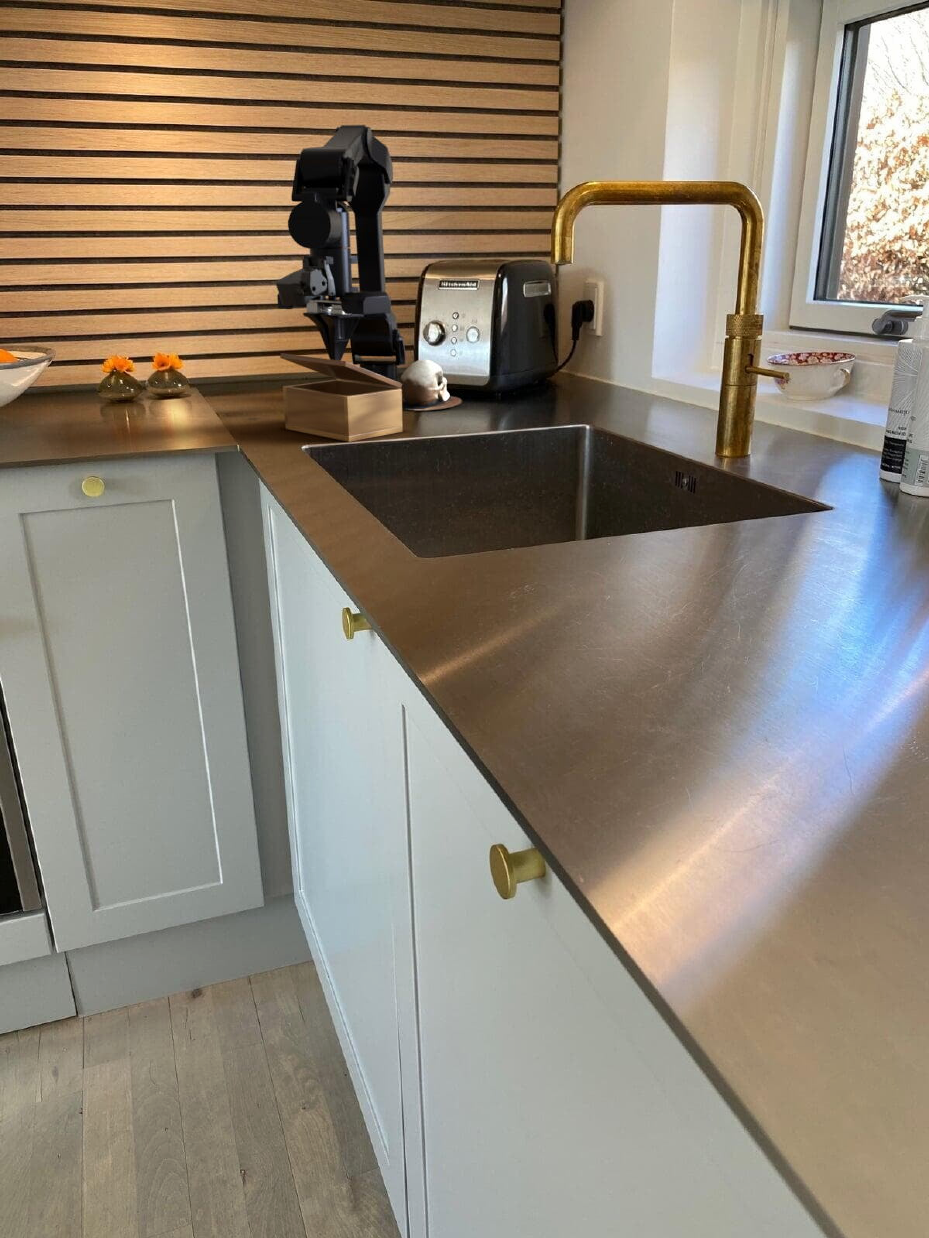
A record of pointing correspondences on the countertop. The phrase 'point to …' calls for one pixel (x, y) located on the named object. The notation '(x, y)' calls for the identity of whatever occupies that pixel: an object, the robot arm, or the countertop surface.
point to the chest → (343, 409)
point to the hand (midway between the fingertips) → (335, 363)
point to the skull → (425, 387)
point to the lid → (341, 370)
